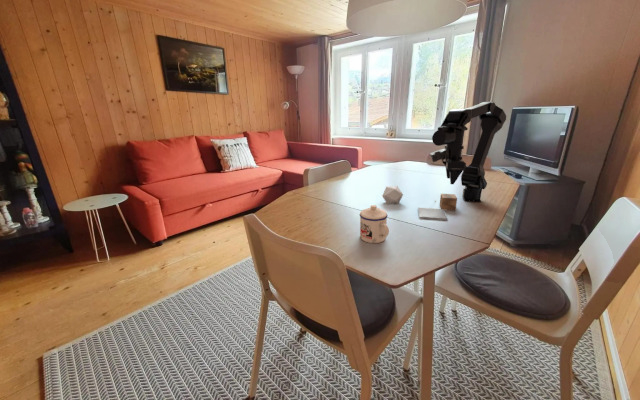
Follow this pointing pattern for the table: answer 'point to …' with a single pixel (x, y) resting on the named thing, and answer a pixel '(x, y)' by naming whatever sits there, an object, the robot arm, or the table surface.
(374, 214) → the teacup with lid
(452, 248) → the table surface
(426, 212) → the coaster
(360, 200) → the table surface
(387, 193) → the die
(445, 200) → the walnut cube
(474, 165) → the robot arm
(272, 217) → the table surface
